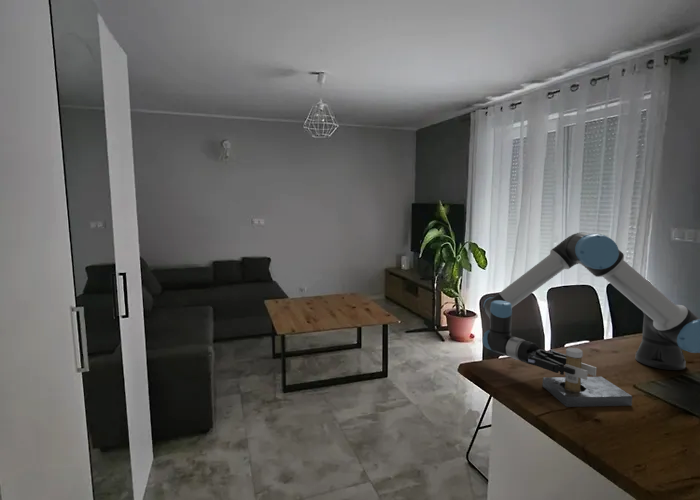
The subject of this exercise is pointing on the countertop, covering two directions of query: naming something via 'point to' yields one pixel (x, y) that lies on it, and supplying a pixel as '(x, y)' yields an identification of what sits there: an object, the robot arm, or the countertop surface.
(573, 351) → the sprinkles bottle
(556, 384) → the jig
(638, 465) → the countertop surface
